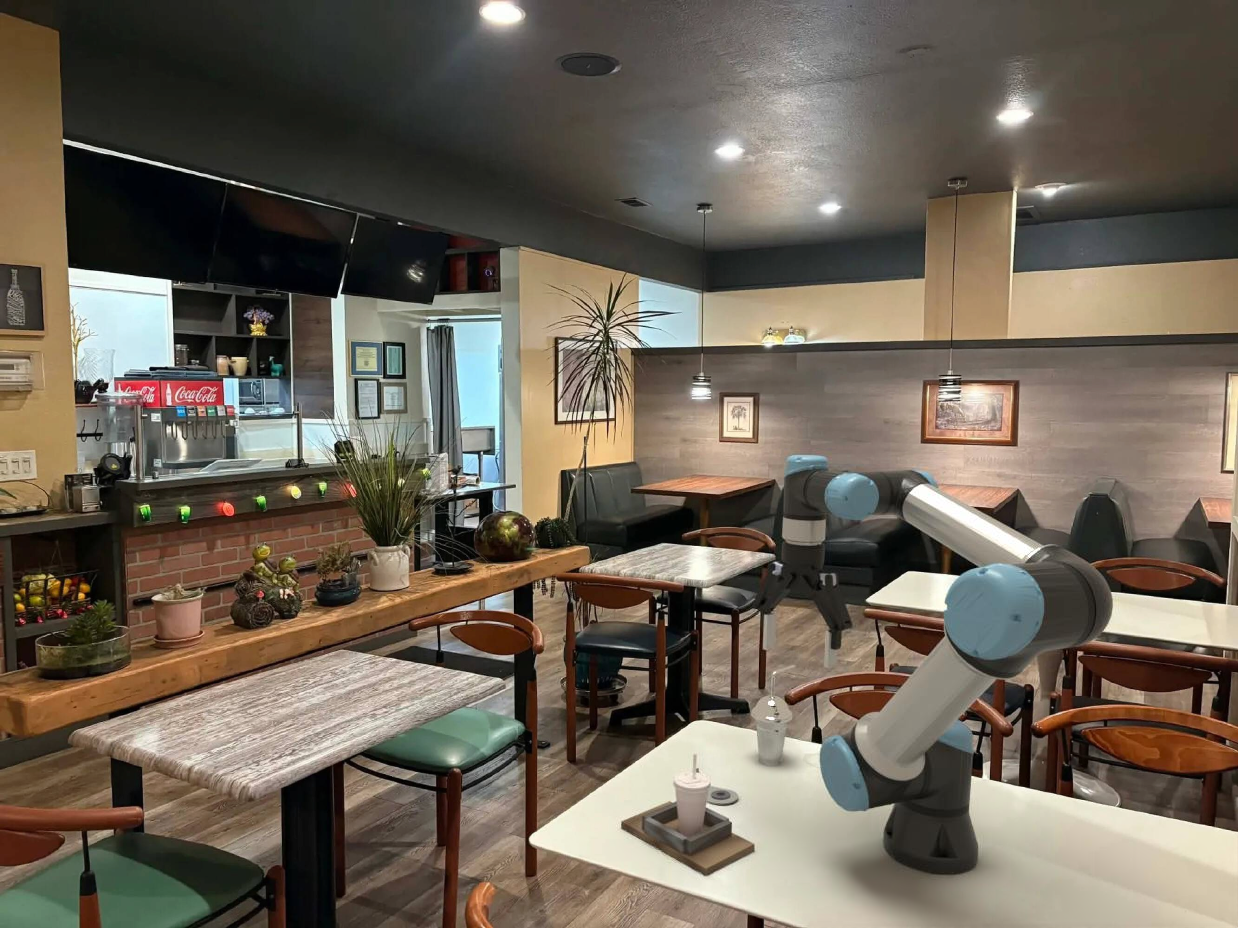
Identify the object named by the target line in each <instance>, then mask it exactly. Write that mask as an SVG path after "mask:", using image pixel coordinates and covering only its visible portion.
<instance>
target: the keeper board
mask: <svg viewBox="0 0 1238 928" xmlns="http://www.w3.org/2000/svg"><path fill="white" fill-rule="evenodd" d="M620 824H621V825H620V828H621V829H622V830H624V831H626V832H628V833H630V835H633V836H634V837H636V838H638V839H640V840H642V841H643V842H645V843H647V844H649V845H650V846H653V847H654V848H656V849H658V850H659V851H661V852H663V853H664V854H666V855H668V856H670V857H672V858H674V859H675V860H677V861H679V862H680V863H682V864H684V865H686V866H687V867H689V868H691V869H692V870H695V871H696V872H698V873H700V874H702V875H704V876H706V877H707V876H709V875H710V874H713V873H714V872H716V871H718V870H720V869H722V868H723V867H726V866H728V865H730V864H732V863H733V862H736V861H738V860H740V859H741V858H743V857H745V856H748V855H749V854H751V853H753V852H755V849H756V848H755V847H756V845H755V843H754V842H752V841H749V840H747V839H745V838H744V837H742V836H740V835H739V834H736V833H734V832H733V822H732V821H731V820H730V818H728V817H727V816H725V815H723V814H721V813H718V812H717V811H714V810H712V809H710V808H709V807H707V806H706V809H705V815H704V822H703V828H702V831H701V832H699V833H697V834H695V835H692V836H690V837H686V836H684V835H682V834H680V833H679V822H678V811H677V801H674V802H672V801H667V802H665V803H662V804H659V805H657V806H655V807H652V808H650V809H648V810H646V811H642V812H640V813H639V814H636V815H633V816H630V817H629V818H626V819H623V820H621V823H620Z"/></svg>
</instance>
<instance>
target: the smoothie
mask: <svg viewBox="0 0 1238 928" xmlns="http://www.w3.org/2000/svg"><path fill="white" fill-rule="evenodd" d="M692 757H693V758H692V771H693V772H692V771H685V772H679V773H678V774H676V775H675V776H673V783H672V785H673V787H674V790H675V799H676V801H677V811H678V822H679V833H680V834H682V835H684V836H686V837H690V836H692V835H695V834H697V833H699V832H701V831H702V828H703V822H704V815H705V809H706V807H707V797H708V790H709V789H710V788H711V786H712V784H711V783H712V781H711V779H710V777H709V776H707V775H705V774H704V773H700V772H699V773H697V772H696V768H697V753H696V752H695V753H693V754H692ZM676 801H675V802H676Z"/></svg>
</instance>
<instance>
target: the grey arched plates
mask: <svg viewBox="0 0 1238 928" xmlns="http://www.w3.org/2000/svg"><path fill="white" fill-rule="evenodd" d="M691 772H693V770H692V771H691ZM696 772H697V773H700V768H699V767H696ZM738 800H739V794H738V793H737V792H735V791H734V790H732V789H727V788H722V787H717V786H712V785H711V788H710V789H709V790H708V797H707V803H708V804H712V805H730V804H732V803H735V802H737V801H738ZM707 803H706V804H707Z"/></svg>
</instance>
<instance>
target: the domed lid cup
mask: <svg viewBox="0 0 1238 928" xmlns="http://www.w3.org/2000/svg"><path fill="white" fill-rule="evenodd" d="M795 668H796V664H791V665H788V666H785V667H783V668H780V669H779V668H778V669H777V670H774V671H773V672H772V674H771V680H770V681H771V683H770V694H769V695H765V696H763V697H761V698H760V699H759V700H758V701H757V703H756V704H755V706H754V707H753V708H752V710H751V713H750V714H751V718H753V719H754V724H755V728H756V739H757V740H756V741H757V751H758V754H757V755H758V758H759V759H758V761H759V762H760V764H763V765H764V766H770V767H771V766H779V765H781V763H782V758H783V753H784V748H785V747H784V746H785V740H786V733H787V729H788V726H789V722H791V721H792V720H793V718H794V717H793V713H792V711H791V710H790V709H789V707H788V704H787V702H786V701H785V700H784V699H783V698H781V697H779V696H777V695H775V688H776V687H775V686H776V685H775V684H776V683H775V681H776V676H777V674H781V673H784V672H786V671H789V670H790V671H791V670H793V669H795Z"/></svg>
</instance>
